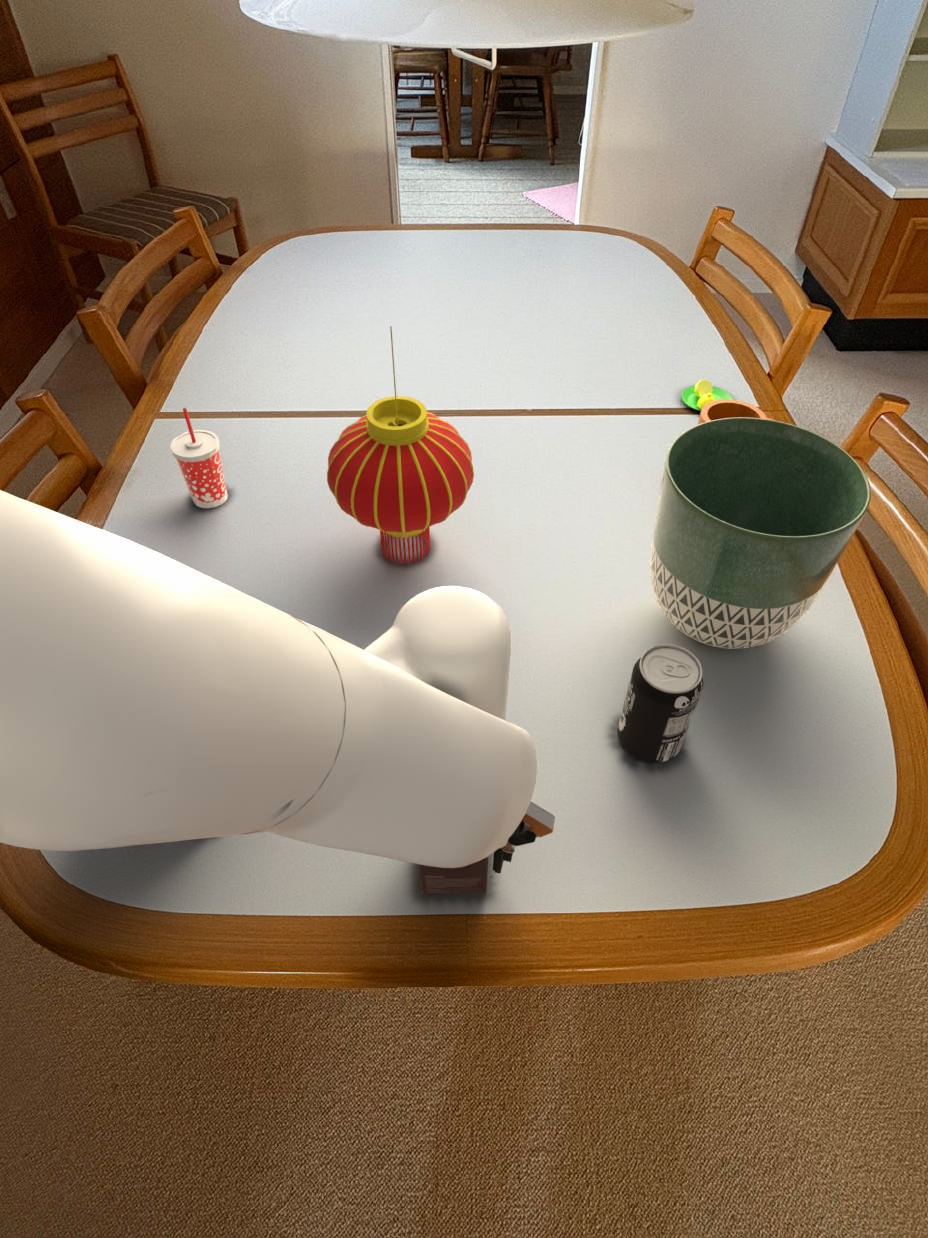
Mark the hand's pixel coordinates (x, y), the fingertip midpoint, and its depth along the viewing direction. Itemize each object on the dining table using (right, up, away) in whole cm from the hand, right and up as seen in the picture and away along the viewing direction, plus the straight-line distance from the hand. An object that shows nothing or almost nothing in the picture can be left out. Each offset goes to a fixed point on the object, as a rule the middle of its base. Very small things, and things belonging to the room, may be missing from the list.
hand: (454, 846), depth 70 cm
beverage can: (+20, +7, +12) cm, 24 cm away
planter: (+30, +20, +23) cm, 43 cm away
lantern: (-7, +29, +32) cm, 44 cm away
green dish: (+39, +54, +55) cm, 87 cm away
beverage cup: (-34, +37, +38) cm, 63 cm away
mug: (+39, +41, +43) cm, 71 cm away
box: (0, -3, +3) cm, 4 cm away
